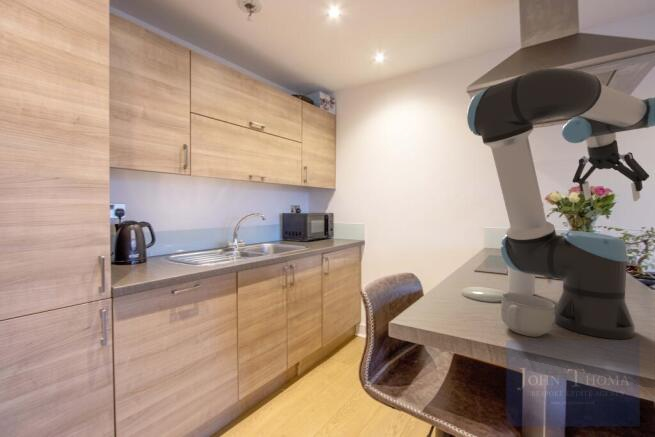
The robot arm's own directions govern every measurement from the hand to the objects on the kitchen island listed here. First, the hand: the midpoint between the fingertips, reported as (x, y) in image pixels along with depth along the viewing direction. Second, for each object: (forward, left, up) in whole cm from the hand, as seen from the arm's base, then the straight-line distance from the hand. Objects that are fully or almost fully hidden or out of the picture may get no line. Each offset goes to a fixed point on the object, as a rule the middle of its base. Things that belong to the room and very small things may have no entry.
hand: (611, 198), depth 109 cm
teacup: (-61, +24, -33) cm, 74 cm away
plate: (-32, +36, -33) cm, 58 cm away
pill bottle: (-21, +26, -33) cm, 47 cm away
